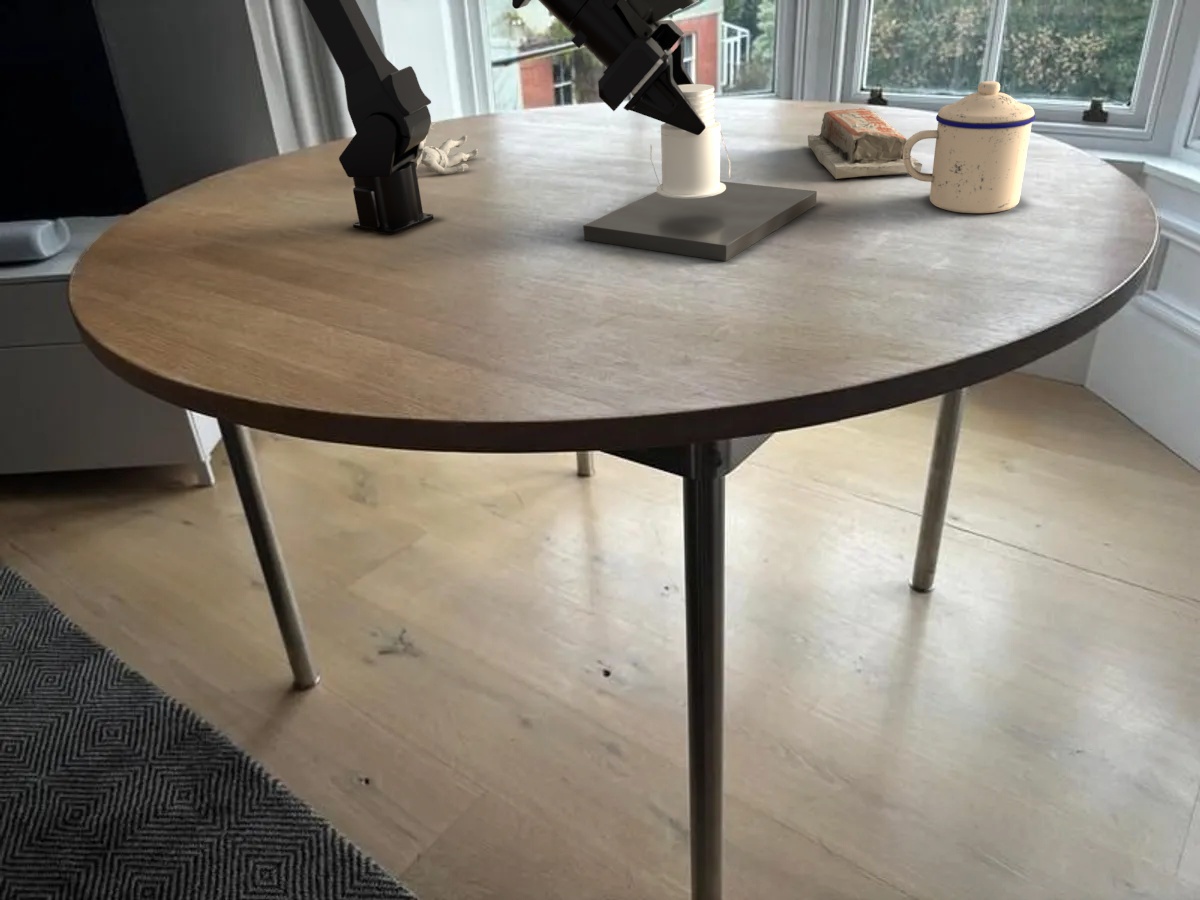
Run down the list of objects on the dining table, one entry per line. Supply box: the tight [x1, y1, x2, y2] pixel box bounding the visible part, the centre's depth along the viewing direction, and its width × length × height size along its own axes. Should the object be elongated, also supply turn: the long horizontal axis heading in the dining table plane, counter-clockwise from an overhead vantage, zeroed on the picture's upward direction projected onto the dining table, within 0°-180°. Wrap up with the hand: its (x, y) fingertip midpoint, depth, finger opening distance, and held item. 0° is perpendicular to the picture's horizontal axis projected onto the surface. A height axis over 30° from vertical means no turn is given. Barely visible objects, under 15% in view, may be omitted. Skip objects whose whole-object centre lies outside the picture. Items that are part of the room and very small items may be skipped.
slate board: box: [582, 180, 818, 262], centre depth 95 cm, size 20×16×2 cm
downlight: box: [649, 83, 732, 199], centre depth 92 cm, size 8×7×10 cm
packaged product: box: [807, 108, 923, 180], centre depth 113 cm, size 18×5×10 cm
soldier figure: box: [411, 122, 479, 175], centre depth 123 cm, size 8×5×12 cm
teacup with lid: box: [903, 80, 1036, 214], centre depth 93 cm, size 12×9×12 cm
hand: (705, 124), depth 91 cm, fingers closed on downlight, 6 cm apart
